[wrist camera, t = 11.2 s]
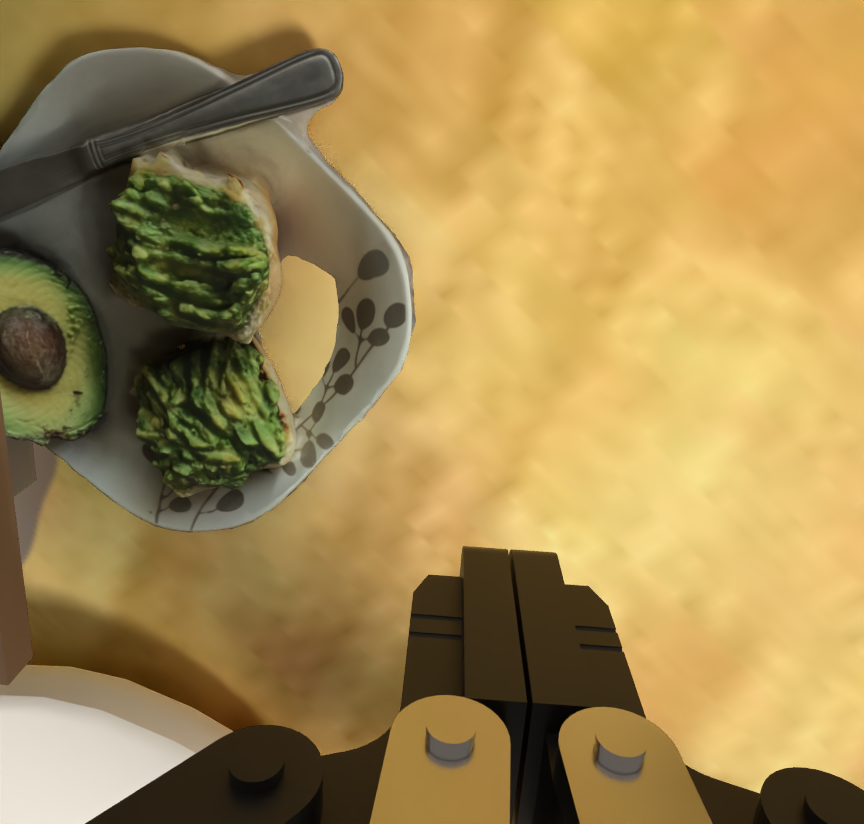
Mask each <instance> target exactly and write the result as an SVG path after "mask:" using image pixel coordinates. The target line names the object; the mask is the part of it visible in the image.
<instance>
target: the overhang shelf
mask: <svg viewBox="0 0 864 824" xmlns="http://www.w3.org/2000/svg"><path fill="white" fill-rule="evenodd" d="M35 480H36V471H35V462H34V453H33V444H32V441H29V440H25V441H19V440H15V439H12V438H9V437H8V436H6V433H5V424H4V416H3V408H2V400H1V392H0V685H9V684H10V683H11V682H12V681H13V680H14V678H15V677H16V676H17V675H18V674H19V673H20V672H21V670H22V669H23V668H24V667H25V666H26V665H27V664H28V662H29V661H30V660H31V659H32V658H33V652H32V644H31V636H30V628H29V620H28V612H27V604H26V595H25V587H24V579H23V571H22V563H21V555H20V547H19V538H18V531H17V522H16V516H15V515H16V514H15V506H14V498H13V497H14V496H15V495H16V494H18V493H19V492H21V491H22V490H23V489H24V488H26V487H27V486H29V485H30V484H31V483H33V482H34V481H35Z"/></svg>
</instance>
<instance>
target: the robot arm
mask: <svg viewBox="0 0 864 824" xmlns="http://www.w3.org/2000/svg"><path fill="white" fill-rule="evenodd" d="M85 824H864V791H863V790H862V789H860V788H859V787H857V786H855V785H854V784H852V783H850V782H848V781H846V780H844V779H842V778H840V777H837V776H835V775H832V774H829V773H827V772H823V771H819V770H816V769H809V768H798V767H793V768H785V769H782V770H778V771H776V772H774V773H773V774H771V775H770V776H769V777H768V778H767V779H766V780H765V782H764V784H763V786H762V789H761V792H760V794H759V793H756V792H753V791H750V790H747V789H744V788H741V787H738V786H735V785H732V784H729V783H726V782H723V781H720V780H717V779H714V778H711V777H709V776H706V775H703V774H701V773H699V772H697V771H695V770H693V769H691V768H690V767H688V766H687V765H685V764H684V762H683V760H682V757H681V755H680V753H679V751H678V749H677V748H676V746H675V744H674V743H673V741H672V740H671V739H670V738H669V736H668V735H667V734H666V733H665V732H664V731H663V730H661V729H660V728H659V727H658V726H656V725H655V724H654V723H652V722H651V721H649V720H647V719H646V717H645V714H644V711H643V708H642V705H641V702H640V699H639V696H638V693H637V690H636V687H635V684H634V681H633V678H632V675H631V672H630V669H629V666H628V663H627V660H626V657H625V654H624V652H622V646H621V643H620V640H619V637H618V634H617V633H616V628H615V625H614V622H613V619H612V616H611V613H610V610H609V607H608V605H607V604H606V603H605V602H604V601H603V600H602V599H601V598H600V597H599V596H598V595H597V594H596V593H595V592H594V591H593V590H592V589H591V588H590V587H589V586H579V585H565V584H564V580H563V576H562V572H561V568H560V564H559V560H558V556H557V554H556V553H553V552H539V551H525V550H510V553H509V554H508V550H507V549H495V548H482V547H468V546H463V548H462V556H461V567H460V577H453V576H439V575H428V576H427V577H426V578H425V579H424V580H423V582H422V583H421V584H420V585H419V586H418V587H417V589H416V590H415V591H414V592H413V600H412V610H411V619H410V628H409V638H408V647H407V656H406V666H405V675H404V684H403V693H402V703H401V708H400V713H399V714H398V715H397V717H396V718H395V720H394V722H393V724H392V727H391V728H390V729H389V730H388V731H387V732H386V733H385V734H383V735H382V736H381V737H379V738H378V739H377V740H375V741H373V742H371V743H369V744H367V745H365V746H362V747H360V748H357V749H353V750H349V751H345V752H340V753H334V754H329V755H324V756H321V755H320V752H319V750H318V749H317V747H316V746H315V745H314V743H313V742H312V741H311V740H310V739H308V738H307V737H306V736H304V735H303V734H301V733H300V732H297V731H295V730H293V729H290V728H286V727H282V726H274V725H259V726H252V727H247V728H243V729H239V730H237V731H234V732H231V733H229V734H227V735H225V736H223V737H222V738H220V739H218V740H216V741H215V742H213V743H212V744H210V745H208V746H207V747H205V748H204V749H202V750H201V751H199V752H197V753H196V754H194V755H193V756H191V757H189V758H188V759H186V760H185V761H183V762H182V763H180V764H178V765H177V766H175V767H174V768H172V769H170V770H169V771H167V772H166V773H164V774H163V775H161V776H159V777H158V778H156V779H155V780H153V781H151V782H150V783H148V784H147V785H145V786H144V787H142V788H140V789H139V790H137V791H136V792H134V793H132V794H131V795H129V796H128V797H126V798H125V799H123V800H121V801H120V802H118V803H117V804H115V805H113V806H112V807H110V808H109V809H107V810H106V811H104V812H102V813H101V814H99V815H98V816H96V817H94V818H93V819H91V820H90V821H88V822H87V823H85Z"/></svg>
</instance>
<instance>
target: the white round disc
mask: <svg viewBox="0 0 864 824" xmlns="http://www.w3.org/2000/svg"><path fill="white" fill-rule="evenodd" d="M231 732H234V731H232V730H230V729H229V728H227V727H225V726H224V725H222V724H220V723H218V722H217V721H215V720H213V719H212V718H210V717H208V716H207V715H205V714H203V713H201V712H200V711H198V710H196V709H195V708H192V707H190V706H188V705H185V704H183V703H181V702H178V701H176V700H174V699H171V698H169V697H167V696H164V695H162V694H160V693H157V692H155V691H153V690H151V689H148V688H146V687H144V686H141V685H139V684H137V683H134V682H132V681H130V680H127V679H123V678H119V677H114V676H110V675H106V674H101V673H97V672H93V671H88V670H84V669H80V668H75V667H71V666H45V665H26V666H25V667H24V668H23V669H22V670H21V672H20V673H19V674H18V675H17V676H16V677H15V678H14V680H13V681H12V682H11V683H10V684H9V685H0V824H85V823H87V822H88V821H90V820H91V819H93V818H94V817H96V816H98V815H99V814H101V813H102V812H104V811H106V810H107V809H109V808H110V807H112V806H113V805H115V804H117V803H118V802H120V801H121V800H123V799H125V798H126V797H128V796H129V795H131V794H132V793H134V792H136V791H137V790H139V789H140V788H142V787H144V786H145V785H147V784H148V783H150V782H151V781H153V780H155V779H156V778H158V777H159V776H161V775H163V774H164V773H166V772H167V771H169V770H170V769H172V768H174V767H175V766H177V765H178V764H180V763H182V762H183V761H185V760H186V759H188V758H189V757H191V756H193V755H194V754H196V753H197V752H199V751H201V750H202V749H204V748H205V747H207V746H208V745H210V744H212V743H213V742H215V741H216V740H218V739H220V738H222V737H223V736H225V735H227V734H229V733H231Z"/></svg>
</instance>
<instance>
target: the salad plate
mask: <svg viewBox="0 0 864 824" xmlns="http://www.w3.org/2000/svg"><path fill="white" fill-rule="evenodd" d="M342 89H343V72H342V69H341V66H340V63H339V61H338V59H337V57H336V56H335V54H333V53H332V52H331V51H329V50H326V49H319V48H318V49H313V50H307V51H304V52H301V53H299V54H297V55H294V56H292V57H290V58H287V59H285V60H283V61H280V62H278V63H276V64H274V65H272V66H270V67H268V68H266V69H264V70H261V71H259V72H257V73H254V74H249V75H238V74H233V73H231V72H229V71H227V70H225V69H223V68H220V67H215V66H214V65H212V64H211V63H208V62H207V61H204V60H202V59H200V58H198V57H196V56H192V55H189V54H187V53H186V52H183V51H175V50H168V49H154V48H146V47H136V48H118V49H107V50H100V51H96V52H92V53H88V54H85V55H82V56H80V57H78V58H76V59H74V60H72V61H71V62H69V63H68V64H67V65H66V66H65V67H64V68H63V70H62V71H61V72H60V73H59V74H57V76H56V77H55V78H54V79H53V80H52V81H51V82H49V84H48V85H47V86H46V87H45V88H44V89H43V90H42V91H41V92H40V94H39V95H38V96H37V98H36V100H35V101H34V102H33V103H32V105H31V106H30V108H29V110H28V111H27V113H26V114H25V116H24V117H23V118H22V119H21V121H20V123H19V124H18V126H17V128H16V129H15V130H14V131H13V133H12V134H11V136H10V137H9V139H8V140H7V141H6V142H5V144H4V145H3V147H2V148H1V150H0V392H1V400H2V408H3V416H4V424H5V433H6V436H8V437H9V438H12V439H15V440H19V441H25V440H29V441H33V442H35V443H36V444H38V445H40V446H45V447H47V448H48V449H49V450H50V451H51V452H53V453H54V454H55V455H58V456H59V457H60V458H61V459H63V460H64V461H65V462H67V463H68V465H69V466H70V467H71V468H72V469H73V470H74V471H75V472H77V473H78V474H79V475H81V476H82V477H84V478H85V479H87V480H88V481H89V482H90V483H91V484H93V485H94V486H95V487H96V488H97V489H98V490H100V491H101V492H102V493H104V494H105V495H106V496H107V497H109V498H110V499H111V500H112V501H114V502H115V503H117V504H118V505H120V506H121V507H123V508H124V509H126V510H127V511H129V512H130V513H132V514H133V515H135V516H136V517H138V518H140V519H142V520H144V521H146V522H148V523H150V524H152V525H154V526H157V527H161V528H165V529H168V530H174V531H182V532H199V531H214V530H222V529H232V528H235V527H238V526H241V525H245V524H248V523H250V522H253V521H254V520H255V519H257V518H259V517H260V516H262V515H263V514H265V513H267V512H269V511H271V510H272V509H273V508H275V507H276V506H277V505H278V504H279V503H280V502H281V501H282V500H284V499H285V498H286V497H287V496H289V495H290V494H291V493H292V492H293V491H294V490H295V489H296V488H297V487H298V486H299V485H300V484H301V483H302V482H304V481H305V480H306V478H307V477H308V475H309V474H310V473H311V472H312V471H313V470H314V469H315V467H316V466H317V465H318V464H319V462H320V461H321V460H322V459H323V458H324V457H325V456H326V455H327V454H328V453H329V452H330V451H331V450H332V449H333V448H334V447H335V446H336V445H337V444H338V443H339V442H340V441H341V440H342V439H343V437H344V436H345V435H346V434H347V433H348V432H349V431H350V430H351V429H352V428H353V427H354V426H355V425H356V424H357V423H358V422H360V421H361V420H362V419H363V418H364V417H365V415H366V414H367V412H368V410H369V409H371V408H372V407H373V406H374V405H375V403H376V402H377V401H378V399H379V398H380V397H381V395H382V394H383V393H384V391H385V390H386V389H387V387H388V386H389V385H390V384H391V383H392V381H393V380H394V378H395V377H396V376H397V375H398V374H399V372H400V371H401V370H402V367H403V364H404V361H405V359H406V356H407V354H408V349H409V342H410V338H411V335H412V332H413V330H414V326H415V322H416V318H415V312H414V291H413V276H412V266H411V262H410V257H409V256H408V254H407V253H406V251H405V250H404V248H403V246H402V245H401V243H400V242H399V240H398V239H397V237H396V236H395V234H394V233H393V232H392V231H391V230H390V229H389V228H388V227H387V226H386V225H385V224H384V223H383V222H382V221H381V220H380V219H379V218H378V217H377V216H376V215H375V214H374V212H373V211H372V209H371V207H370V206H369V205H368V203H367V202H366V201H365V200H364V199H363V198H362V197H361V196H360V195H359V194H358V193H357V191H356V190H355V188H354V187H353V186H352V185H351V184H349V183H348V182H347V181H346V180H345V179H343V178H342V177H341V176H340V174H339V173H338V172H337V171H336V170H335V169H334V168H333V167H331V166H330V165H329V164H328V163H327V162H326V160H325V159H324V157H323V155H322V154H321V152H320V151H319V150H318V148H317V147H316V146H315V144H314V143H313V141H312V140H311V139H310V137H309V135H308V132H307V130H308V125H307V124H308V122H309V121H310V119H311V117H312V116H313V115H314V114H315V113H316V112H317V111H318V110H319V109H321V108H323V107H326V106H328V105H330V104H332V103H333V102H334V101H335V100H336V98H337V97H338V96H339V95H340V93H341V92H342ZM114 198H115V199H116V200H112V199H114ZM111 200H112V201H111ZM110 201H111V210H110V207H109V202H110ZM288 255H290V256H297V257H299V258H301V259H302V260H305V261H308V262H310V263H313V264H315V265H316V266H318V267H319V268H321V269H322V270H324V271H326V272H327V273H329V274H330V275H332V276H333V277H334V278H335V281H336V288H337V296H338V303H339V319H338V324H337V333H336V343H335V347H334V351H333V354H332V356H331V359H330V361H329V363H328V364H327V366H326V367H325V373H324V375H323V377H322V378H321V380H320V381H319V383H318V384H317V385H316V386H315V387H314V388H313V390H312V392H311V393H310V395H309V396H308V398H307V399H306V400H305V402H304V403H303V404H302V405H301V406H300V408H299V409H298V410H297V411H296V412H295V413H294V414H292V411H291V408H290V405H289V402H288V400H287V397H286V395H285V392H284V390H283V388H282V385H281V382H280V379H279V377H278V375H277V372H276V370H275V368H274V366H273V365H272V363H271V361H270V359H269V357H268V356H267V354H266V352H265V350H264V349H263V347H262V343H261V338H260V336H259V334H258V332H257V330H258V329H259V328H260V327H261V326H262V325H263V323H264V322H265V321H266V319H267V317H268V316H269V314H270V313H271V311H272V310H273V308H274V306H275V305H276V303H277V300H278V298H279V296H280V292H281V288H282V268H281V261H282V259H283V258H285V257H286V256H288ZM181 344H186V346H185V348H184V349H181V350H180V349H178V348H177V346H179V345H181Z"/></svg>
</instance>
